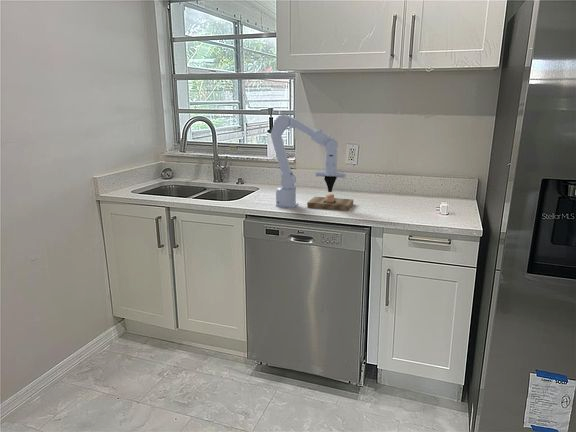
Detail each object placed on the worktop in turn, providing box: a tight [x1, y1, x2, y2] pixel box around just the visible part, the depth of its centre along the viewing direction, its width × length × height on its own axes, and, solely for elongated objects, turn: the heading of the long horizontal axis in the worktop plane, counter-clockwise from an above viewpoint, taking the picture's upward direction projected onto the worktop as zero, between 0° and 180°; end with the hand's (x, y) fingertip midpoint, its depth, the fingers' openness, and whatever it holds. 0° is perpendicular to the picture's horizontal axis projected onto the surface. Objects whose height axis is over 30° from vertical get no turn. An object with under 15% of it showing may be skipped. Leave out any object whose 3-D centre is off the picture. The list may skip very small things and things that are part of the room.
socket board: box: [306, 196, 354, 212], centre depth 211 cm, size 20×14×2 cm
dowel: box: [325, 193, 335, 203], centre depth 208 cm, size 4×4×6 cm
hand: (330, 191), depth 207 cm, fingers closed
